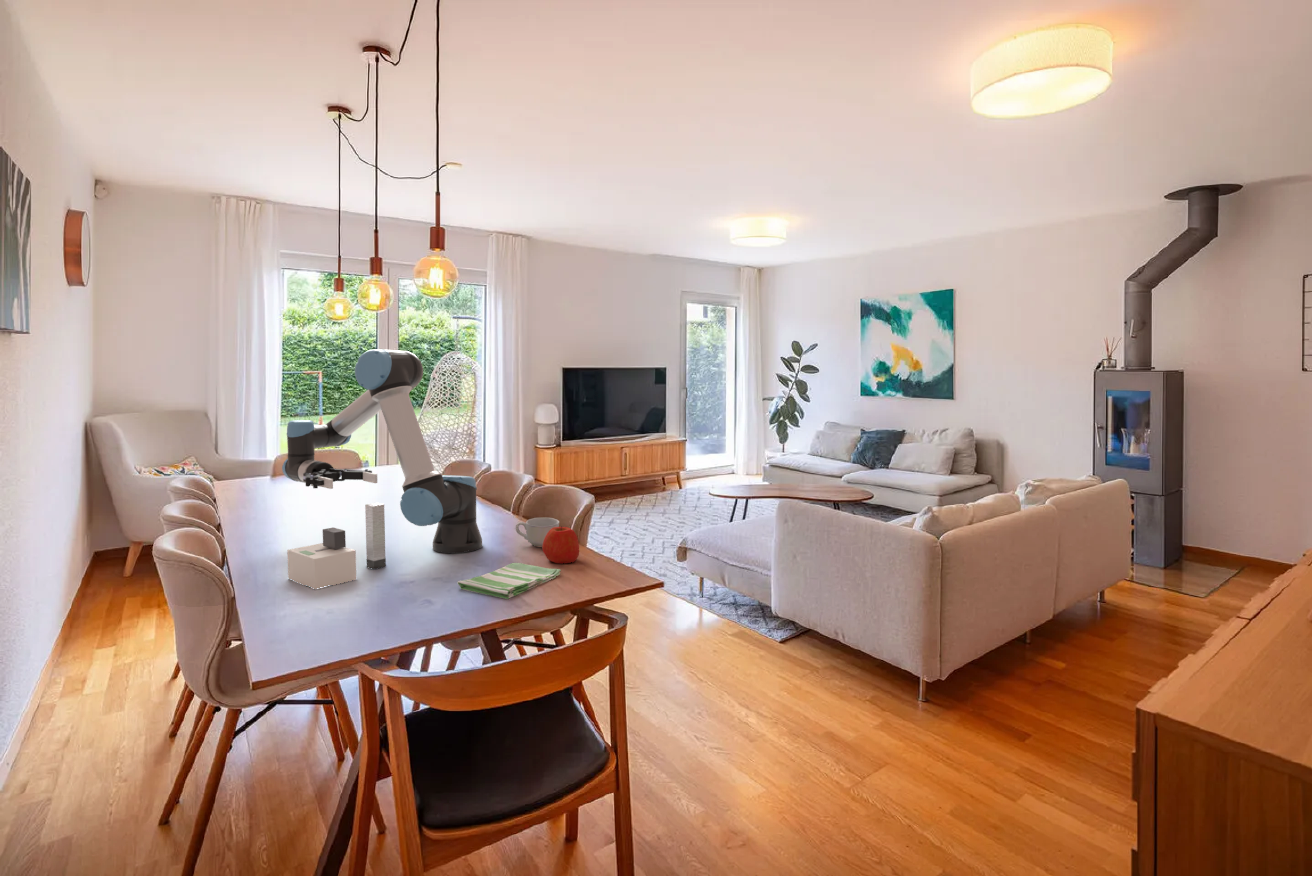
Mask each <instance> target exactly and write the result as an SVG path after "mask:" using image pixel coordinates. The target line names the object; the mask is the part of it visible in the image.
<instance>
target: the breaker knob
mask: <svg viewBox="0 0 1312 876" xmlns="http://www.w3.org/2000/svg"><path fill="white" fill-rule="evenodd" d="M322 543H323V546H326V547H329V548H332V549H339V548H344V547H346V546H347V545H346V530H344V529H340V528H337V527H330V528H329V527H328V528H323V529H322ZM346 548H347V547H346Z"/></svg>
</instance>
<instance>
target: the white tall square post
mask: <svg viewBox="0 0 1312 876" xmlns="http://www.w3.org/2000/svg"><path fill="white" fill-rule="evenodd" d="M364 509H365V512H364V513H365V514H364V515H365V544H366V545H365V546H366V547H365V549H366V559H365V562H366V568H368V567H369V568H368V569H371V568H372V569H371V570H378V569H382V568H386V567H385V566H387V559H386V530H385V529H386V528H385V527H386V525H385V521H386V520H385V517H386V516H385V504H384V503H379V502H374V503H367V504H365V507H364ZM381 567H382V568H381ZM377 568H378V569H377Z"/></svg>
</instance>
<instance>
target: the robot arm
mask: <svg viewBox="0 0 1312 876" xmlns="http://www.w3.org/2000/svg"><path fill="white" fill-rule="evenodd" d="M354 367H355V369H354V375H355V379H356V381H357V384H359V386H360V387H363V388H364V389H365V390H366V391H365V392H364V393H362V394H361V395H360V396H358V398H356V399H355V400H353V402H351V403H349V405H348V406H346V407H345V408H344V409H343V410H341V411H340V412H339V413H338V414H336V416H335V417H333V418H332V419H330V421H328V422H327V423H325V424H315V422H314V421H313V420H309V419H308V420H307V419H298V420H297V419H294V420H289V421H288V422H287V428H286V438H287V439H286V441H287V442H286V443H287V459H285V461H284V462H283V464H282V467H281V470H282V473H283V475H284V477H286V478H288V479H289V480H291V481H294V482H299V483H304V484H305V487H308V488H309V487H312V488H313V489H318V487H320V488H325V489H329V490H332V489H334V483H335V482H344V481H346V480H347V481H348V480H349V481H351V480H353V481H358V480H359V481H362V482H366V483H367V482H368V483H372V484H378V473H373V470H371V469H370V470H369V469H367V468H365V469H364V470H362V469H350V468H343V469H337V468H334V466H333V465H332V464H331V463H329V462H326V461H320V460H316V459H315V456H316V455H315V451H316V449H322V448H330V447H340V446H344V445H346V444H348V443H349V442H350V441H351V440H350V439H352V438H351V437H352V434H353V433H354V432H356V431H357V430H358V429H359V428H361V427H362V426H363V425H364V424H366V423H367V422H368V421H370V420H371V419H372V418H373V417H374V416H376V415H377V414H378V413H380V412H382V415H383V417H384V421H385V424H386V426H387V430H388V432H389V435H390V438H391V441H392V445H393V447H394V450H395V452H396V456H397V459H398V461H399V464H400V468H401V470H402V474H403V476H404V481H403V484H402V486H401V488H402V489H403V493H402V495H401V497H400V499H401V500H400V501H399V505H400V506H399V507H400V511H401V514H402V515H403V516H404V518H405V519H406V520H407V522H409V523H411V524H413V525H414V526H418V527H427V526H433V525H436V524H437V527H436V531H435V534H434V536H433V537H434V538H433V539H432V550H433V551H435V552H437V553H443V554H460V553H461V554H462V553H469V552H473V551H477V550H479V549H481V548H482V547H483V538H482V534H481V532H480V530H479V526H478V523H477V490H478V489H477V483H476V478H474V477H473V476H468V475H467V476H466V475H454V474H453V475H451V474H449V475H447V474H446V475H442V473H441V472H439V471H438V470H436V469H435V468H434V464H433V461H432V459H431V456H430V453H429V450H428V447H427V444H426V441H425V439H424V436H423V433H422V429H421V427H420V423H419V421H418V418H417V416H416V412H415V410H414V409H415V408H414V406H413V404H412V400H411V398H410V392H411V391H413V389H415V388H416V387H417V386H418V385H419V383H420V382H421V381H422V379H423V375H424V367H423V364H422V361H421V360H420V359H419V357H418V356H416V354H415V353H412V352H410V351H408V350H397V349H394V350H393V349H383V348H377V349H369V350H367V351H365V352H363V353H361V355H360V356H359V357H358V358H357V362H356V363H355V366H354Z"/></svg>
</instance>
